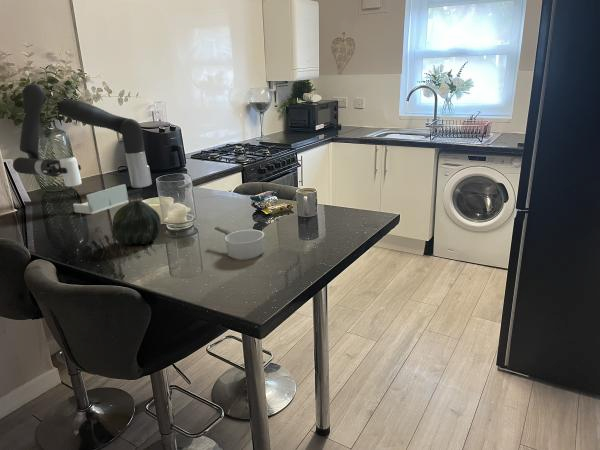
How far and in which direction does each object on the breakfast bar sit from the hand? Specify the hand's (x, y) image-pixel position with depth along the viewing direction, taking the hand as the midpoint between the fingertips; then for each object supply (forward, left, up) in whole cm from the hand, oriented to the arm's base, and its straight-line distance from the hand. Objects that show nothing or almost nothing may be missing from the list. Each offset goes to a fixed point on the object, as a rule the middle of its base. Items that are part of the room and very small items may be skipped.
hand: (72, 169), depth 188 cm
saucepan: (+17, +95, -18) cm, 98 cm away
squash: (+21, +58, -18) cm, 64 cm away
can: (0, -2, -7) cm, 8 cm away
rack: (-6, +6, -17) cm, 19 cm away
